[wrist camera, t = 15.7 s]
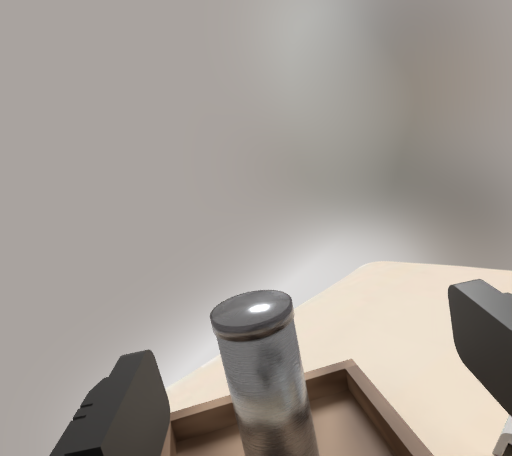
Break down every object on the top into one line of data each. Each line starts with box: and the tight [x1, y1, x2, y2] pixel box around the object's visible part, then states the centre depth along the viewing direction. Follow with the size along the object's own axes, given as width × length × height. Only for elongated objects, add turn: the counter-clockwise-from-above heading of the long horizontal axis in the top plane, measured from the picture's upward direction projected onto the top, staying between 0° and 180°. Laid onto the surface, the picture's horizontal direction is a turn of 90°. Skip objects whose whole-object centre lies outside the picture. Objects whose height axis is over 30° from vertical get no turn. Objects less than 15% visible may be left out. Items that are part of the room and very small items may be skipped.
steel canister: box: [210, 290, 320, 456], centre depth 24 cm, size 5×5×12 cm
